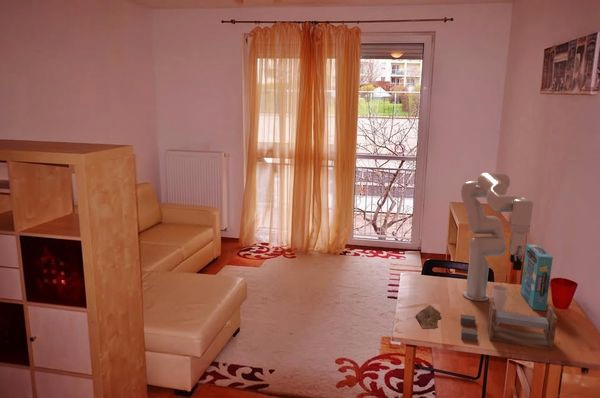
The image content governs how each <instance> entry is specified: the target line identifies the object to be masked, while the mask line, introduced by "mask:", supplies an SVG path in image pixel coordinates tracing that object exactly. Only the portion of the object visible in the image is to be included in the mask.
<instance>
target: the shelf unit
mask: <svg viewBox="0 0 600 398" xmlns="http://www.w3.org/2000/svg"><path fill="white" fill-rule="evenodd" d="M495 316H496V306H495V302H494V298H491V297H490V300H489V308H488V318H487V328H486V329H487V333H488V340H489V341H491V342H498V343H504V344H509V345H515V346H516V345H517V346H522V347H528V348H529V347H530V348H535V349H539V350H540V349H542V350H548V351H553V349H554V344H555V336H556V330H557V322H558V317H557V315H556V313H555V311H554V309H553V306H551V305H547V307H546V316H545V318H546V319H547V321H548V323H549V328H548V330H545V329H543V332H536V331H532V330H525V329H524V330H523V329H518V328H517V329H516V328H512V327H506V326H505V327H503V326H499V325H500V323H498V322H495Z"/></svg>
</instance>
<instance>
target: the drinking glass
mask: <svg viewBox="0 0 600 398" xmlns="http://www.w3.org/2000/svg"><path fill="white" fill-rule="evenodd" d="M508 295H509V288H508V287H507V286H504V285H502V284H501V285H500V284H495V285H492V287H491V295H490V299H491V298H494V302H495V306H496V311H501V312H505V310H506V306H507V302H508V301H507V300H508Z"/></svg>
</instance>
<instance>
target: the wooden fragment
mask: <svg viewBox="0 0 600 398" xmlns="http://www.w3.org/2000/svg"><path fill="white" fill-rule="evenodd" d="M441 314H442V313H441V312H440V311H439V310H437V309H436V308H435V307H434V306H432V305H431V304H429V305H427V306H426V307H425V308H423V309H422V310H420V311H419V312H418V313H417V314H415V318H416V319H417V320H418V323H419V325H420V326H421V327H422V328H421V329H422V330H424V329H425V330H427V329H428V330H431V329H437V328H438V329H439V326H438V322H439V321H438V320H440V319H442V316H441Z"/></svg>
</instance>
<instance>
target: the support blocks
mask: <svg viewBox="0 0 600 398" xmlns="http://www.w3.org/2000/svg"><path fill="white" fill-rule="evenodd" d="M476 322H477V321H476V316H475V315H469V314H468V315H467V314H463V313H461V314H460V325H462V326H463V325H464V326H469V327H470V326H471V327H476ZM460 338H461V339H460V340H463V339H464V340H463V341H470V342H477V341H478V331H477V330H475V329H470V328H464V327H462V328H461V331H460Z"/></svg>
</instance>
